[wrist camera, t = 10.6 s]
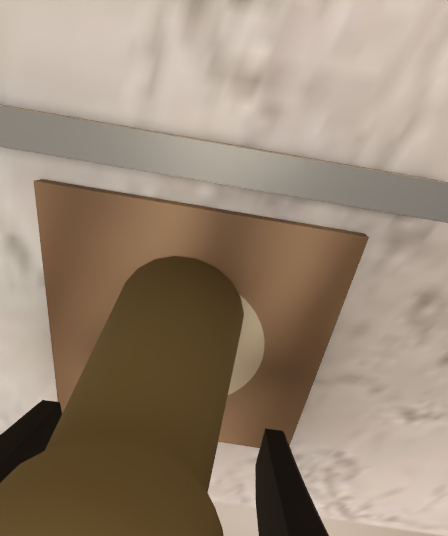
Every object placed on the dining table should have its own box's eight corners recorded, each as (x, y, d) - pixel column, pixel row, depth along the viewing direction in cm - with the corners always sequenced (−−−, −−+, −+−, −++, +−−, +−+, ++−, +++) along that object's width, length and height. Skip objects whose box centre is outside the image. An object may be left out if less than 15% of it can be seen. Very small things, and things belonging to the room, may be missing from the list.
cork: (224, 375, 15) (195, 821, 5) (112, 346, 15) (-151, 771, 5) (261, 277, 13) (337, 760, 3) (128, 240, 12) (-329, 649, 2)
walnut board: (363, 233, 12) (369, 238, 12) (285, 444, 18) (286, 453, 18) (41, 179, 12) (31, 181, 12) (64, 410, 18) (58, 418, 17)
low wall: (436, 180, 11) (484, 189, 9) (422, 209, 12) (466, 225, 10) (-18, 101, 11) (-84, 91, 9) (-12, 135, 12) (-74, 134, 9)
